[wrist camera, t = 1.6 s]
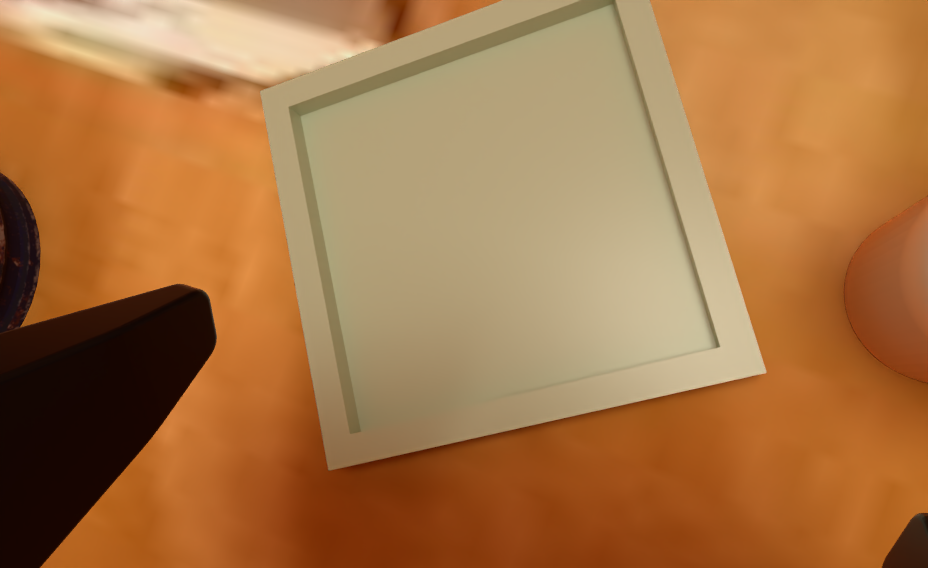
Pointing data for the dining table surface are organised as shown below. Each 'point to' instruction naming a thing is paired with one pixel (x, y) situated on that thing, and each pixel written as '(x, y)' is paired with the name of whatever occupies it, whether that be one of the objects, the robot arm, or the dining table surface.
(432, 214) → the tray
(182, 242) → the dining table surface
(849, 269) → the salt shaker
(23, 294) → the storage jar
